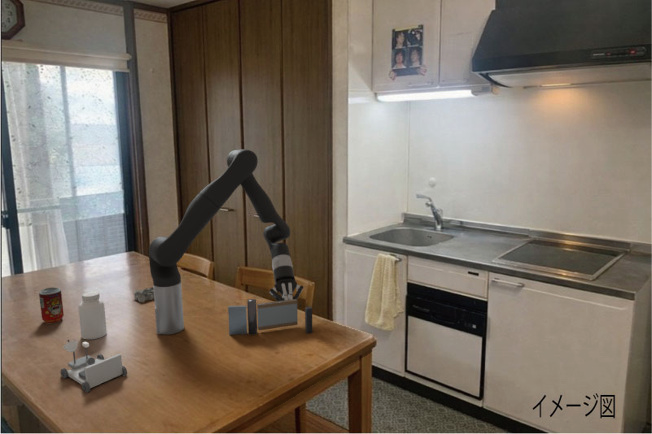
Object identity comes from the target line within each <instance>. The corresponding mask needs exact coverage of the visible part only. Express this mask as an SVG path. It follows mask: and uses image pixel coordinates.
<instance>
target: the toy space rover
mask: <svg viewBox="0 0 652 434" xmlns="http://www.w3.org/2000/svg"><path fill="white" fill-rule="evenodd" d="M81 344H82V347H84V348H85V349H84V350H85V356H82V357H79V358H77V359H76V353H75V351H76V350H77V347H78V340H76V339H73V340H70V339H67V342H66V343H65V344H64V345H63V346H62V348H63V349H64V350H65V351H67V352H69V353H72V355H73V360H71V361H70V362H67V366H68V367H69V368H71V369H68V370H67V368H65V367H64V368H61V369H60V376H61V378H63V379H68V378H70V379H72V380H74V381H75V382H77V383H79V384H80V385H81V388H82V391H84V392H85V393H89V392H91V388H94V387H96V386H98V385H101V384H102V383H105V382H107V381H110V380H112V379H114V378H117V377H119V376H123V377H125V376H127V374H128V371H127V370H128V369H127V368H126V366H125V365H123V360H122V354H121V353H117V354H114V355H112V356H110V357H108V358H105V357H104V355H103V354H101V353H99V354H97V356H96V359H95V358H94V357H93V356H91V355H89V354H88V348H89V347H90V343H89V342H87V341H83V342H81Z"/></svg>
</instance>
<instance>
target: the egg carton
mask: <svg viewBox="0 0 652 434" xmlns="http://www.w3.org/2000/svg"><path fill="white" fill-rule="evenodd" d="M132 294H133V296H134V300H135V301H139V303H145V302H147V301H153V300H154V287H153V286H151V287H148V288H147V287H145V288H144V289H141V290H135V291H134V292H133V293H132Z"/></svg>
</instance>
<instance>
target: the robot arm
mask: <svg viewBox="0 0 652 434" xmlns="http://www.w3.org/2000/svg"><path fill="white" fill-rule="evenodd" d="M258 161H259V160H258V157H257V154H256V153H255V151H253V150H250V149H244V148H243V149H235V150H234V149H233V150H232V151H230V152H229V154H228V155H227V157H226V165H227V168H226V170H225V171H223V173H222V174H221V175H220V176H219V177H218V178H216V179H215V180H213V181H212V182H210V183H209V184H207V185H206V186H205V187H203V188H202V190H201V191H200V192H198V194H197V195H196V196H195V197H194V198H193V199H192V200H191V202H190V203H189V204H188V206H187V208H186V211H185V213H184V214H183V217H182V220H181V221H180V223H179V225H178V226H177V227H176V229H175V230H174V231H173V232H172V233H171V234H170V235H169V236H158V237H156V238H154V239H153V240H152V241H151V243H150V244H149V247H148V262H149V269H150V271H149V272H150V276H151V278H152V284H153V285H152V287H154V298H153V300H154V315H155V318H154V319H155V329H156V335H174V334H178V333H179V332H182V331H183V330H184V328H185V324H184V323H185V322H184V309H183V308H184V307H183V291H182V276H181V272H180V270H179V268H178V264H177V263H179V261H180V260H181V259H182V258H183V256H184V255H185V254H186V252H187V251H188V249H189V247H190V246H191V244H193V243H192V242H193V241H194V240H195V239H196V237H198V235H199V234H200V233H201V232H202V231H203V230H204V228H205V227H206V226H207V225H208V224H209V223H210V221H211V220H212V219H213V218H214V217H215V216H216V214H217V213H218V212H219V211H220V210H221V208H222V207H223V206H224V205H225V203H226V202H227V201H228V200H229V198H230V197H231V196H232V194H233V193H234V192H235V191H236V190H237V189H238V188H239V187H240V186H241V188H242V189H243V190H244V192H245V193H246V195H247V197H248V199H249V200H250V203H251V204H252V206H253V208H254V210H255V213H256V214H257V216H258V218H259V220H260V222H261V223H262V224H269V223H270V224H271V223H273V224H272V225H268V226H266V227H265V228H264V230H263V231H262V235H263V238H264V240H265V242H266V243H267V245H268V249H269V251H270V256H271V262H272V263H271V266H272V272H273V279H274V280H273V281H274V285H273V286H274V287H272V288H270V290H269V295H271V297H272V298H273V299H275V300H276V301H284V300H292V299H297V300H298V298H299V297H300V296H301V293H302V292H303V290H304V286H303V285H299V284H298V282H297V280H296V278H295V273H294V267H293V262H292V259H291V255H290V249H289V248H290V247H289V246H288V244H287V243H285V242H281V241H284V240H286V239H287V240H288V238H290V236H291V227H290V226H289V225H288V223H286V220H284V219H283V218H282V217H281V216H280V215H279V213H278V211H277V210H276V208H275V206H274V204H273V202H272V200H271V198H270V197H269V195H268V194H267V193H266V191H265V189H263V187H262V186H261V185H260V184H259V182H258V180H257V179H256V178H255V176H254V174H253V173H254V171H255V170H256V168H257V166H258V163H259V162H258ZM295 290H296V293H295V295H294V296H293V293H294V292H295Z"/></svg>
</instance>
